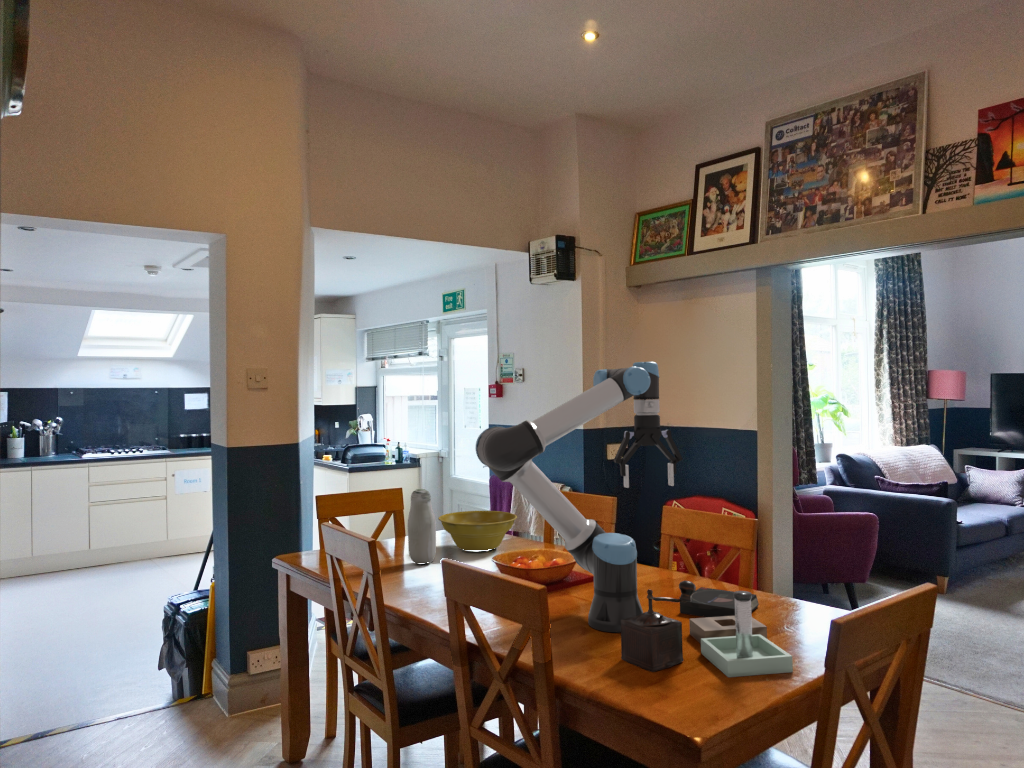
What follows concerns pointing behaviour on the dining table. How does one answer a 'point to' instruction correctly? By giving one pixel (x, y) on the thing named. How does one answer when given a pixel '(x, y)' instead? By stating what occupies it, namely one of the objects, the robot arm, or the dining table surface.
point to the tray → (763, 661)
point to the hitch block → (720, 627)
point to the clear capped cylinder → (743, 624)
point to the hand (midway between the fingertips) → (648, 486)
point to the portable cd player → (713, 603)
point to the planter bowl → (477, 528)
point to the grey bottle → (421, 528)
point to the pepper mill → (654, 635)
